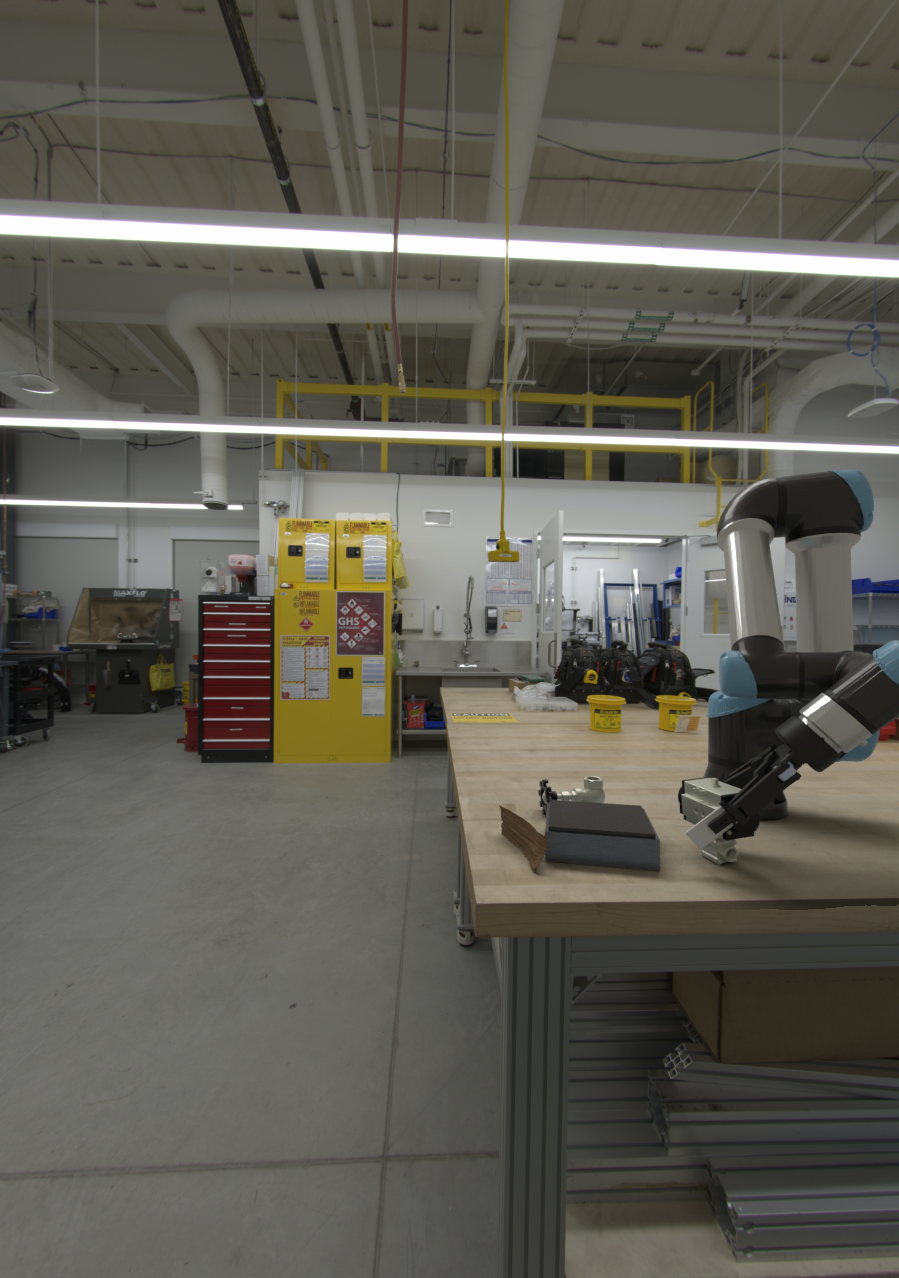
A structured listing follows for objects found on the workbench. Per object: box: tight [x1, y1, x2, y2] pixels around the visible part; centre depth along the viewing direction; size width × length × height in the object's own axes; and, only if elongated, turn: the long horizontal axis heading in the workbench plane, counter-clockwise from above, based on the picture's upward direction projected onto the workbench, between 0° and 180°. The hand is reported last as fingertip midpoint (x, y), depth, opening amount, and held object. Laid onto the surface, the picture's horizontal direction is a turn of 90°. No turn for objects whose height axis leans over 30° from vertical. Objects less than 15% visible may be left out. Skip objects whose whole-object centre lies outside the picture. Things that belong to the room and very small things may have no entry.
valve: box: [537, 775, 606, 816], centre depth 97 cm, size 7×7×12 cm
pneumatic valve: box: [677, 776, 761, 865], centre depth 76 cm, size 6×12×12 cm, turn 13°
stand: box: [544, 799, 661, 872], centre depth 81 cm, size 16×14×5 cm
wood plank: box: [498, 804, 547, 873], centre depth 79 cm, size 15×2×5 cm, turn 17°
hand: (693, 827), depth 78 cm, fingers closed on pneumatic valve, 10 cm apart
